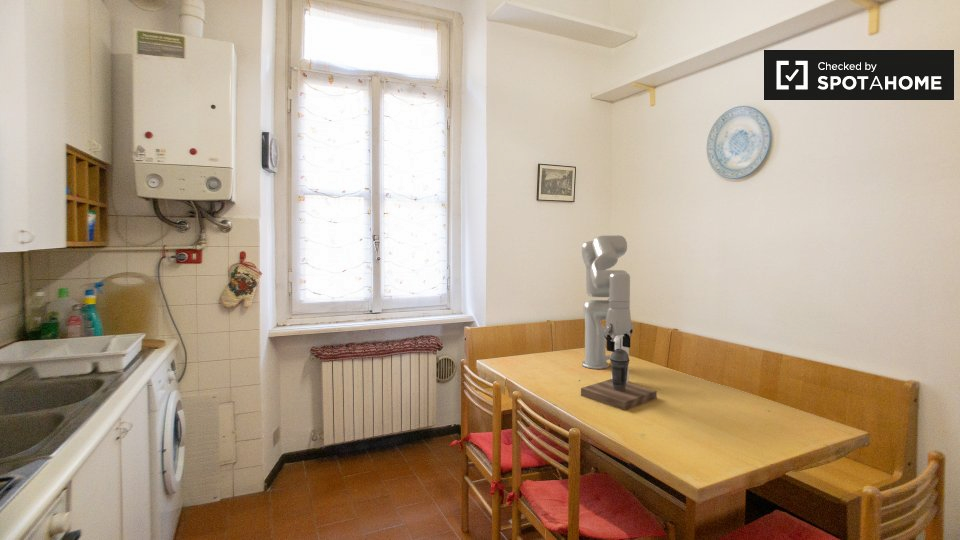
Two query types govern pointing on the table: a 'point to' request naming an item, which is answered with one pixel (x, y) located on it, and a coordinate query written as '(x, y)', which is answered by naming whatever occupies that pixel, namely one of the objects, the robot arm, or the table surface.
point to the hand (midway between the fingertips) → (618, 348)
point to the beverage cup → (619, 368)
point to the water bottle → (617, 346)
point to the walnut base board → (619, 394)
